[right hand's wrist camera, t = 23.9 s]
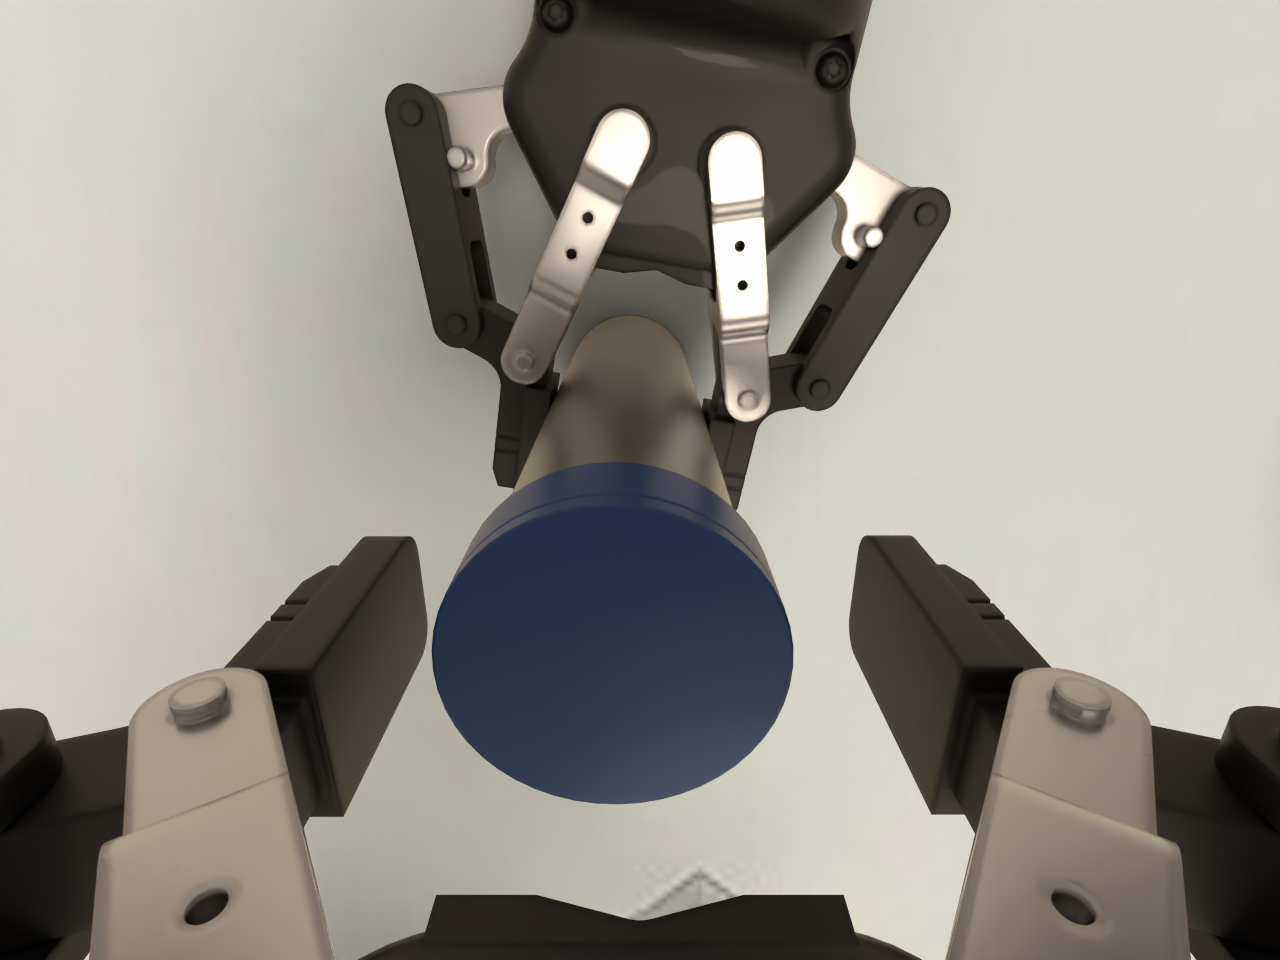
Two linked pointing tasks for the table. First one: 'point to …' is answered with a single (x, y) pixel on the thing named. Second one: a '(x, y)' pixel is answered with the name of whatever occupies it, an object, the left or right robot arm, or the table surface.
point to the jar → (627, 408)
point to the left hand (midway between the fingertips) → (612, 510)
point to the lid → (613, 636)
